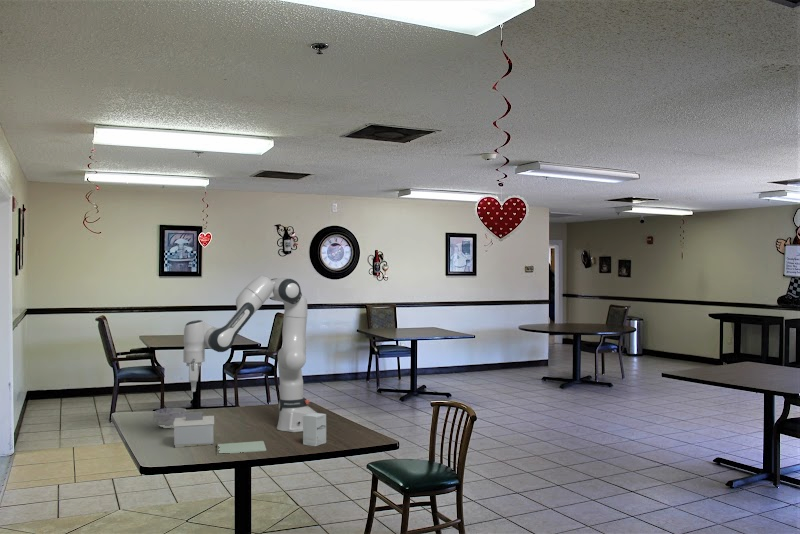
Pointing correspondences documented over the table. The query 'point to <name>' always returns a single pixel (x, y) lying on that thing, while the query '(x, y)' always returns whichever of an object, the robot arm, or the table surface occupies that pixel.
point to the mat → (242, 447)
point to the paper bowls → (168, 415)
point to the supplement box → (314, 429)
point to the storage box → (194, 434)
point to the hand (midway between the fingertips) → (193, 389)
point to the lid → (193, 419)
